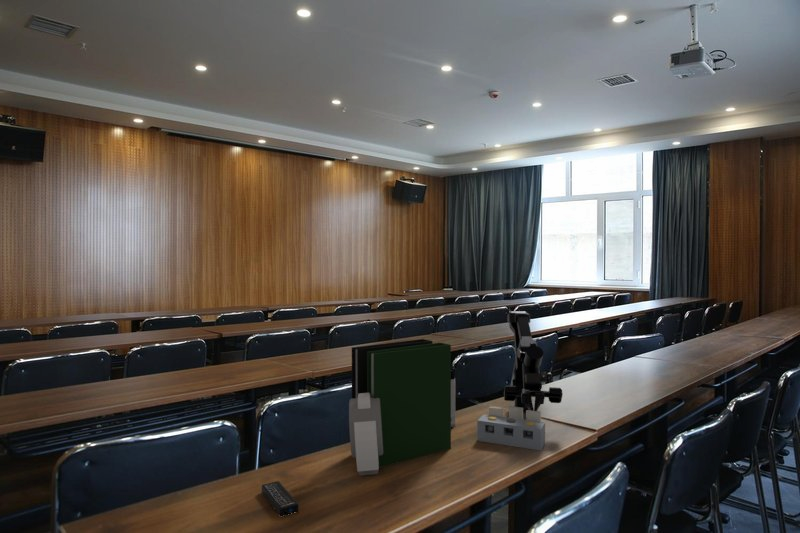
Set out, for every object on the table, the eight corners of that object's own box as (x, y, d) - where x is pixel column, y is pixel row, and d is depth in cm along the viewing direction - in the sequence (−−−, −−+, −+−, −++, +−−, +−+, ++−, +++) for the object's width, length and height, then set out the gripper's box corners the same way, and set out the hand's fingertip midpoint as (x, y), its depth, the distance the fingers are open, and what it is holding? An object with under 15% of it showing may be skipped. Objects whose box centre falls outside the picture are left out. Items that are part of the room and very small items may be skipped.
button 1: (489, 424, 166) (489, 406, 166) (502, 426, 164) (502, 408, 164) (483, 431, 159) (483, 412, 159) (497, 433, 157) (497, 414, 157)
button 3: (526, 428, 162) (526, 409, 162) (540, 430, 160) (540, 411, 160) (521, 435, 155) (521, 416, 155) (536, 437, 153) (536, 418, 153)
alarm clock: (354, 453, 148) (350, 386, 147) (383, 451, 148) (378, 384, 147) (352, 482, 130) (347, 406, 129) (385, 479, 130) (380, 404, 129)
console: (483, 433, 166) (483, 413, 166) (545, 443, 157) (545, 421, 157) (477, 440, 159) (477, 419, 159) (541, 450, 151) (541, 428, 151)
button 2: (509, 424, 166) (509, 406, 166) (523, 425, 164) (523, 407, 164) (504, 430, 160) (504, 412, 160) (518, 432, 158) (518, 414, 158)
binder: (375, 469, 137) (375, 354, 137) (349, 453, 150) (349, 346, 149) (450, 448, 153) (450, 344, 153) (421, 434, 165) (421, 338, 165)
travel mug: (455, 428, 171) (455, 370, 171) (436, 427, 172) (436, 369, 172) (457, 423, 177) (457, 366, 177) (438, 421, 178) (438, 366, 178)
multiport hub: (278, 489, 126) (278, 480, 126) (299, 514, 114) (298, 504, 114) (261, 493, 124) (261, 484, 124) (280, 519, 112) (280, 509, 112)
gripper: (504, 361, 168) (505, 403, 157) (561, 363, 165) (566, 406, 154) (503, 379, 176) (504, 420, 165) (558, 381, 173) (563, 423, 162)
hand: (534, 417), depth 161 cm, fingers closed
